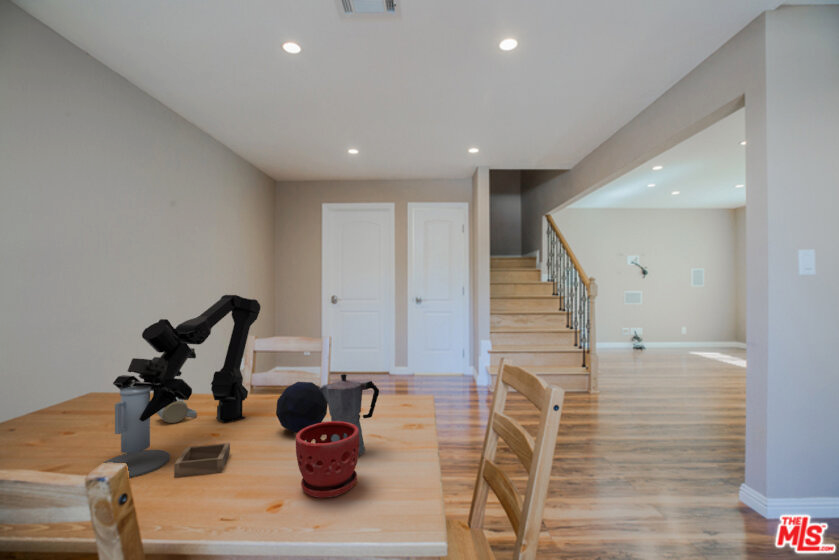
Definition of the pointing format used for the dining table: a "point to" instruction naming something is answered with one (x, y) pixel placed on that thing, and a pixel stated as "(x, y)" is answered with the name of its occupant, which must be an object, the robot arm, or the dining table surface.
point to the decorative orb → (301, 406)
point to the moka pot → (348, 403)
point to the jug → (133, 419)
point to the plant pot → (327, 458)
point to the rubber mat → (142, 461)
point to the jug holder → (202, 460)
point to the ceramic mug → (176, 412)
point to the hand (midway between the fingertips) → (130, 419)
